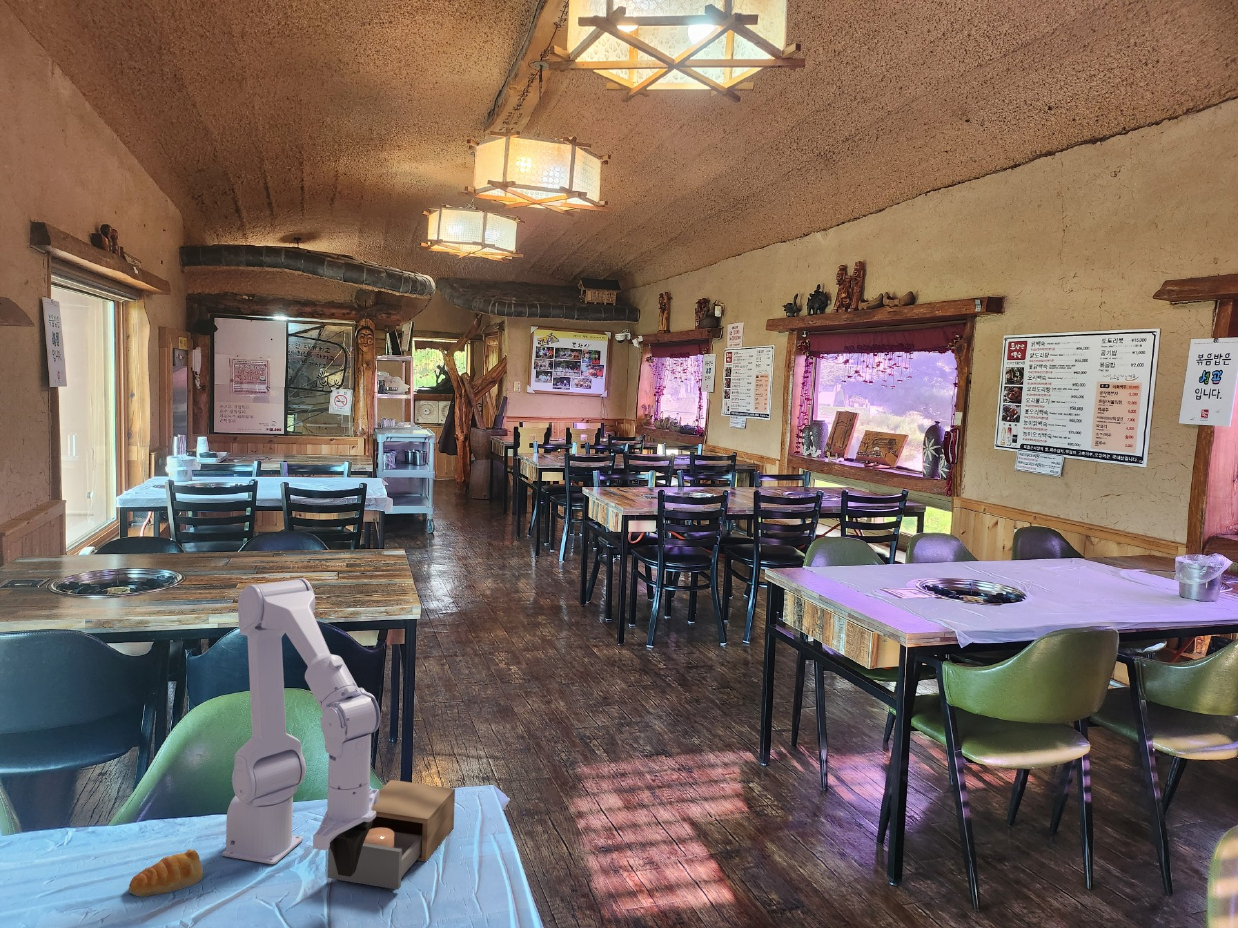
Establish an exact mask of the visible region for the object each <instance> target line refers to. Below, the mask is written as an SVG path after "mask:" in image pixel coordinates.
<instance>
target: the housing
mask: <svg viewBox="0 0 1238 928" xmlns="http://www.w3.org/2000/svg"><path fill="white" fill-rule="evenodd" d="M378 790H379V802H378V803H377V804H376V805H373V807H372V811H376V817H375V818H374V819H373V820H372V827H371V828H388V829H391V830H392V831H393V832H400V833H406V834H413V835H419V836H422V854H421V855H420V856H419V857H418V858H417V860H416V861H421V862H426V863H427V861H429V859H430V858H431V857H432V855H433V854H434V853H435V851H436V850H437V849H438V848H439V847H440V845H441V844H442V843H443V842H444V840H445V839H446V838H447V837H448V835H449V834H450V833H451V832H452V830H453V829H454V823H455V799H456V798H455V797H456V788H452V787H444V786H437V785H431V784H423V783H417V782H409V781H402V780H394V779H391V780H389V781H388V782H387V783H386V784H385V785H384V786H383V787H381V788H380V789H378ZM438 846H439V847H438Z"/></svg>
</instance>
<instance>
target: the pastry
mask: <svg viewBox="0 0 1238 928" xmlns="http://www.w3.org/2000/svg"><path fill="white" fill-rule="evenodd" d="M200 859H201V858H200V855H199V853H198V852H197V850H196V849H191V848H189V849H187V850H186V852H180V853H176V854H172V855H167V856H165V857H162V858H161V859H160V860H159V861H157V862H156V863H154V864H152V865H151V866H149V867H146V868H145V869H143V870H142V871H140V872H139V873H137V874H135V875H134V876H133V877H132V878H131V880H130V882H129V885H128V892H129V893H130V894H131V895H134V896H137V897H144V898H145V897H149V896H154V895H164V894H169V893H170V892H174V891H177V890H180V889H184V888H188V887H190V886H193V885H195V884H198V883H200V882H201V881H202V879H203V877H204V869H203V865H202V863H201V860H200Z"/></svg>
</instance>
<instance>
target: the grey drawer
mask: <svg viewBox="0 0 1238 928" xmlns="http://www.w3.org/2000/svg"><path fill="white" fill-rule="evenodd" d="M370 829H373V828H370ZM327 851H328V854H327V878H328V879H332V880H339V881H345V882H351V883H355V884H356V883H358V884H361V885H362V884H363V885H368V886H373V887H381V888H387V889H392V890H400V888H401V886H402V877H403V876H404V875H405V874H406V873H407V872H408V870H409V869H410V868H411V867H412V865H413V864H415V862H416V861H418V860H417V858H418V857H419V856H420V855H421V854H422V836H419V835H413V834H406V833H400V832H394V848H392V847H386V846H380V845H373V844H367V843H363V846H362V849H361V853H360V857H359V861H358V864H357V868H356V871H355V873H354V874H353V875H352V876H350V877H348V876H342V875H338V872H337V868H336V864H335V860H334V857H333V854H332V851H331V849H330V847H329V848H328V849H327Z"/></svg>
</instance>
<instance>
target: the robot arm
mask: <svg viewBox="0 0 1238 928" xmlns="http://www.w3.org/2000/svg"><path fill="white" fill-rule="evenodd" d="M315 595H316V594H315V591H314V589H313V587H312V585H311V584H310V582H309V581H308V580H307V579H306V578H304V577H299V578H296V579H291V580H284V581H283V580H282V581H275V582H266V583H259V584H248V585H245V587H244V588H243V590H242V591H241V593H240V594H239V596H238V597H237V613H238V628H239V633H240V635H242V636H246V637H247V652H248V673H249V674H248V675H249V694H250V695H249V697H250V712H251V713H250V714H251V716H250V717H251V719H250V720H251V734H252V735H251V737H250V738H249V739H248V740H247V741H246V742H245V743H244V744H242V746H241V747H240V748H239V749H238V750H237V751H236V752H235V753H234V765H233V766H234V767H233V771H232V776H231V783H232V789H233V792H234V794H235V795H234V797H232V799H231V801H230V804H229V805H228V809H227V813H226V828H225V829H226V832H225V835H226V836H225V837H226V838H225V850H224V851H223V852H222V856H223V857H227V858H232V859H240V860H244V861H251V862H257V863H263V864H269V865H275V864H277V863H278V862H280V860H281V859H282V858H284V857H285V856H286V855H287V854H288V853H290V852H291V851H292V850H293V849H295V848H296V847H297V846H298V845H299V844H300V843H302V842H303V840H304V836H301V835H295V834H293V817H294V815H293V813H294V812H293V811H294V810H293V809H294V808H293V807H294V794H296V793H297V792H298V786H300V785H301V784H302V783H304V780H305V777H306V773H307V763H306V760H305V756H304V755H303V754H304V753H303V748H302V742H301V741H300V739H298V738H297V737H296V736H294V735H292V734H290V733H287V724H286V723H287V722H286V705H285V703H286V702H285V701H286V700H285V681H284V666H283V665H284V663H283V642H282V639H283V636H284V635H286V637H288V639H289V640H290V642H291V643H292V645H293V646H294V648H295V649H296V650H297V653H298V654H299V655H300V657H301V658H302V659H303V662H304V663H305V665H307V668H306V671H305V672H304V680H305V681H306V683H307V685H308V688H309V689H310V692H311V693H312V695H313V698H314V699H315V701H316V703H317V704H318V706H319V708H320V710H321V713H322V716H321V717H320V728H321V732H322V733H323V734H322V735H323V738H324V748H325V752H326V753H327V754H328V766H327V767H328V771H327V803H326V806H327V808H326V812H325V813H324V816H323V818H322V820H321V823H320V825H319V827H318V829H317V831H315V832H314V834H313V835H312V838H313V839H312V849H314V850H320V851H328V848H329V847H330V849H331V851H332V854H333V857H334V860H335V864H336V868H337V872H338V875H342V876H348V877H350V876H352V875H353V874H354V873H355V871H356V868H357V864H358V861H359V857H360V853H361V849H362V846H363V843H364V841H365V838H366V836H367V834H368V832H369V830H370V828H371V827H372V820H373V819H374V818H375V817H376V811H372V807H373V805H376V804H377V803H378V802H379V790H380V789H376V788H370V786H371V755H372V753H371V750H372V747H371V746H372V733H375V732H376V731H377V730H378V729H379V726H380V724H381V711H380V707H379V704H378V702H377V700H376V697H375V696H374V695H373V694H372V693H370V692H367V691H366V690H365V688H363V687H358V685H357V683H356V681H355V680H354V677H353V676H352V674H351V672H350V671H349V669H348V667H347V664H345V661H344V659H343V658H342V657H341V656H340V655H337V654H332V653H331V652H330V650H329V647H328V645H327V642H326V641H325V638H324V636H323V633H322V631H321V629H320V626H319V624H318V622H317V620H316V617H315V615H314V614H315V608H316V596H315Z"/></svg>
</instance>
